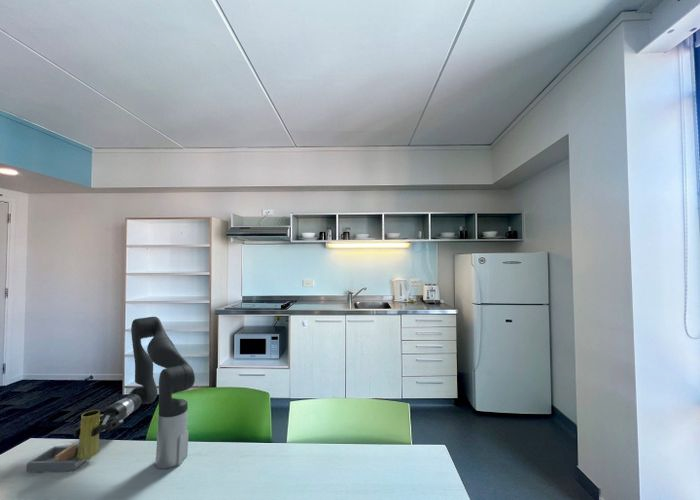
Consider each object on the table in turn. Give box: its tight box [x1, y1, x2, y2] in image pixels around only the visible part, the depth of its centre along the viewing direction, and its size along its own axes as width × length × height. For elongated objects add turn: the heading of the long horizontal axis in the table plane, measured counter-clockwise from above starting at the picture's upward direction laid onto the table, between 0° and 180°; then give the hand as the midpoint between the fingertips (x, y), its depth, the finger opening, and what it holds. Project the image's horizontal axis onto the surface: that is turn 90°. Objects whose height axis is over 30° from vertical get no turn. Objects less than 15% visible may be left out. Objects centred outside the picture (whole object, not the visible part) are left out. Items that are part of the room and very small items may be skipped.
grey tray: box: [25, 445, 92, 473], centre depth 108 cm, size 15×10×3 cm, turn 93°
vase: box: [77, 409, 101, 459], centre depth 109 cm, size 6×6×14 cm
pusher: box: [55, 443, 78, 461], centre depth 108 cm, size 1×7×4 cm, turn 3°
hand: (83, 433), depth 107 cm, fingers closed on vase, 5 cm apart
